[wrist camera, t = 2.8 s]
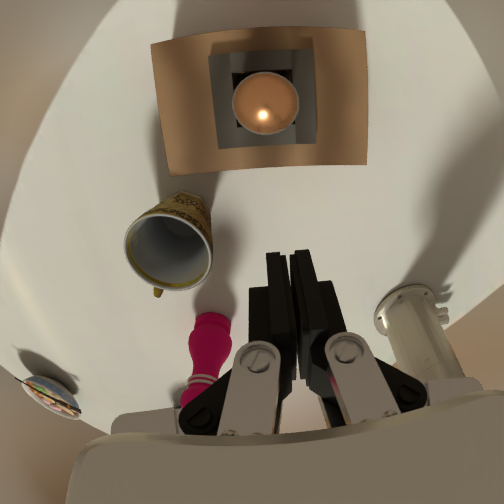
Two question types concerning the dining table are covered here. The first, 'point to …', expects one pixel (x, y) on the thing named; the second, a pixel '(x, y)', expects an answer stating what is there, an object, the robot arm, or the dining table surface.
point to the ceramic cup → (171, 244)
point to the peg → (265, 103)
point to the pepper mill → (207, 353)
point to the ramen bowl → (52, 396)
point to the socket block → (254, 61)
